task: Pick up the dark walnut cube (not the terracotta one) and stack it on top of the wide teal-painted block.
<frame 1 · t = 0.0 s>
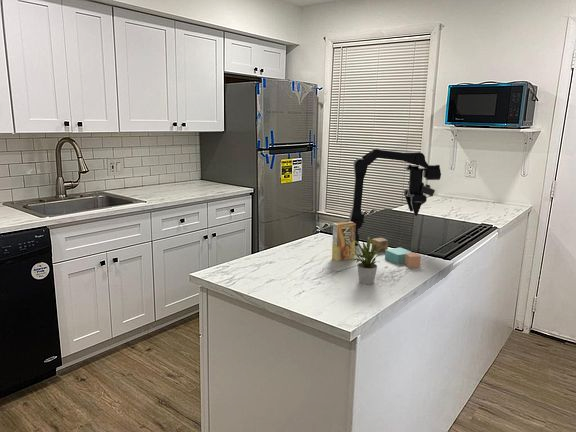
hand: (413, 213, 202), 15 cm above the worktop, tool pointing down, fingers open, 9 cm apart
teal base block: (398, 260, 184), on the worktop
house plant: (364, 280, 160), on the worktop
walnut cube: (379, 250, 197), on the worktop
terracotta cube: (412, 265, 177), on the worktop
candy box: (343, 259, 185), on the worktop
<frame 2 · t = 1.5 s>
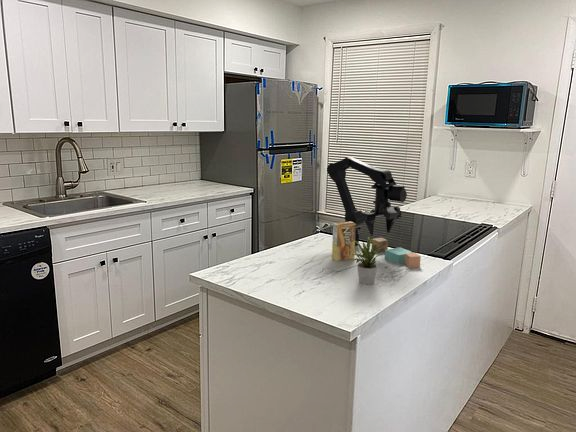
hand: (380, 233, 195), 7 cm above the worktop, tool pointing down, fingers open, 9 cm apart
nothing on the worktop moved.
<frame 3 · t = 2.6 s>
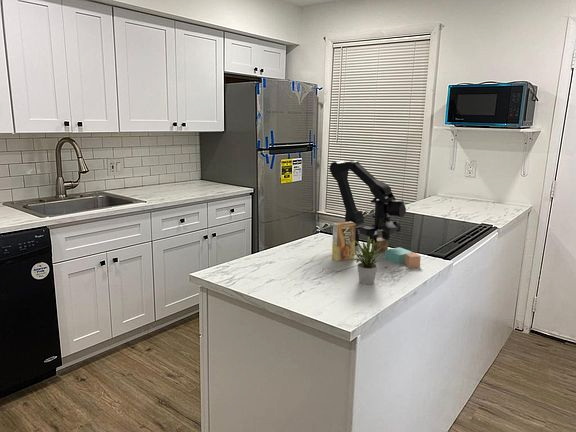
hand: (379, 247, 196), 1 cm above the worktop, tool pointing down, fingers closed on walnut cube, 5 cm apart
walnut cube: (379, 250, 197), on the worktop, touching gripper
everything else where it was.
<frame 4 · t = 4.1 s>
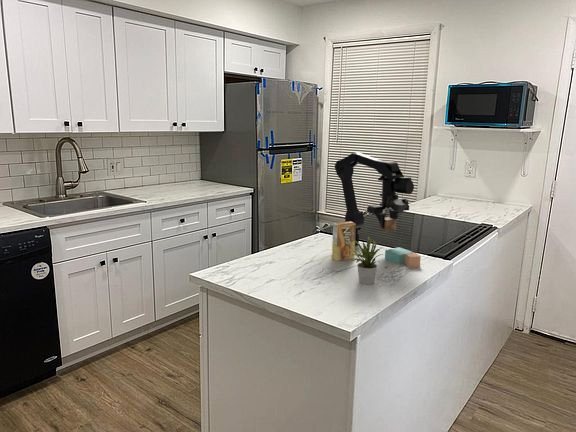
hand: (387, 227, 190), 11 cm above the worktop, tool pointing down, fingers closed on walnut cube, 5 cm apart
walnut cube: (387, 229, 190), point 10 cm above the worktop, touching gripper
everything else where it was.
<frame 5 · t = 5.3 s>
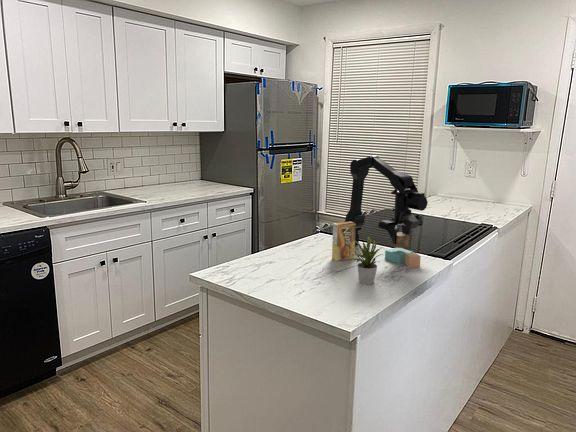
hand: (399, 243, 182), 7 cm above the worktop, tool pointing down, fingers closed on walnut cube, 5 cm apart
walnut cube: (399, 245, 182), point 6 cm above the worktop, touching gripper
everything else where it was.
when the fingers open (6 cm above the worktop, at t = 5.8 s): walnut cube drops 2 cm, point 4 cm above the worktop.
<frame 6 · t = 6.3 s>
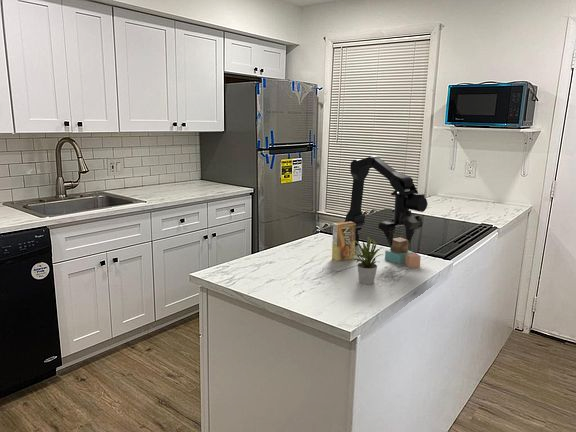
hand: (399, 244, 182), 6 cm above the worktop, tool pointing down, fingers open, 9 cm apart
walnut cube: (399, 251, 183), point 4 cm above the worktop
everything else where it was.
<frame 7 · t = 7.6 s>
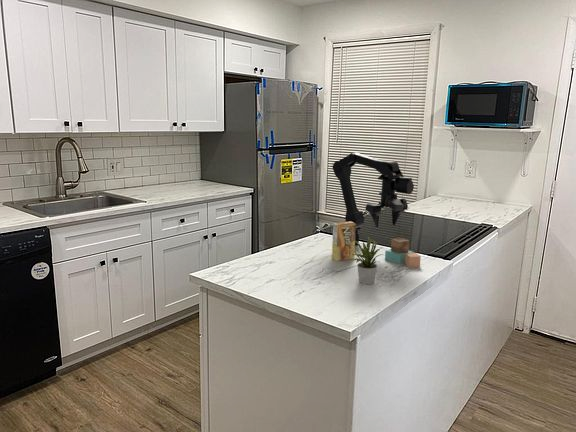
hand: (385, 226, 192), 12 cm above the worktop, tool pointing down, fingers open, 9 cm apart
nothing on the worktop moved.
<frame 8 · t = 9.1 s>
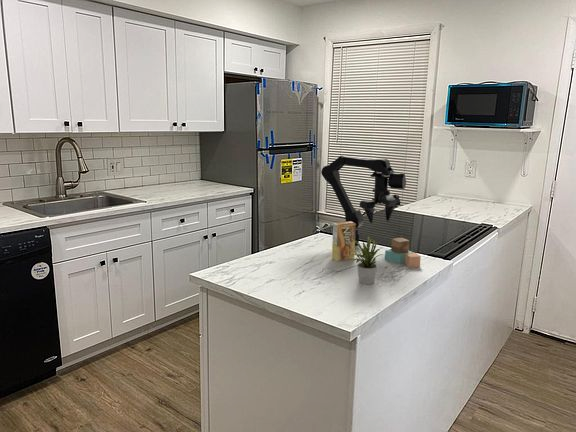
hand: (379, 221, 198), 12 cm above the worktop, tool pointing down, fingers open, 9 cm apart
nothing on the worktop moved.
at the end: walnut cube inside the target area on the teal base block (0.2 cm from its centre), point 4.0 cm above the teal base block's base; walnut cube tilted 0°; the gripper is holding nothing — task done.
